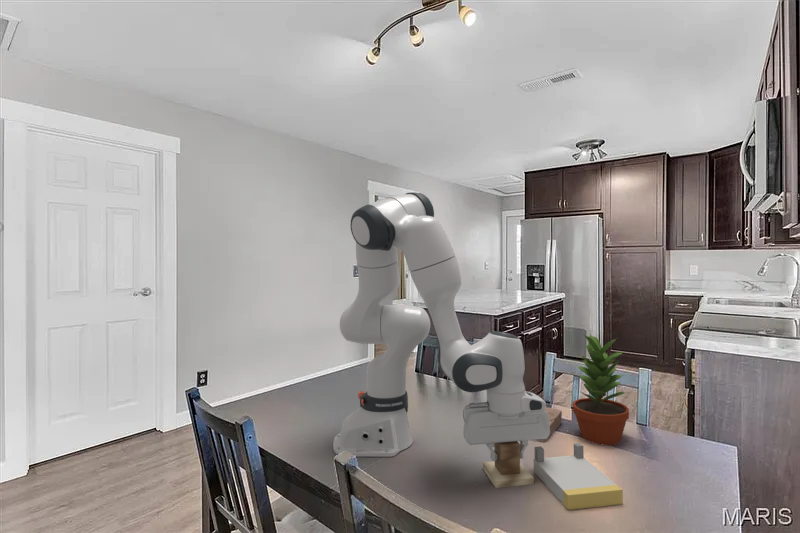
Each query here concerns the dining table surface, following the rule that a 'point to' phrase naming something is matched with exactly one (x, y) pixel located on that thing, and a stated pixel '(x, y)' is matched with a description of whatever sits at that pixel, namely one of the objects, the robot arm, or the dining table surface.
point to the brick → (552, 421)
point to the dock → (576, 480)
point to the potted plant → (600, 397)
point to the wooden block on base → (507, 467)
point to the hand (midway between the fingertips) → (507, 458)
